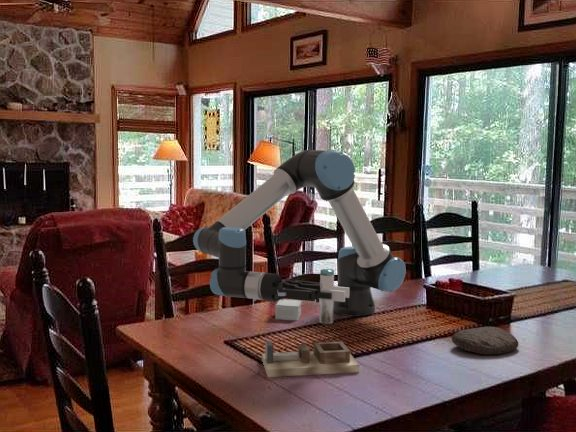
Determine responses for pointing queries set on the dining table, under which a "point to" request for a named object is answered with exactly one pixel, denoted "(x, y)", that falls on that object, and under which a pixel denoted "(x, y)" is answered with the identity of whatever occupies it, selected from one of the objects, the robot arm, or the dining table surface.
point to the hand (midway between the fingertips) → (346, 294)
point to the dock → (314, 361)
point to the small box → (288, 310)
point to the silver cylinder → (326, 305)
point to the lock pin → (277, 357)
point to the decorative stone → (485, 340)
